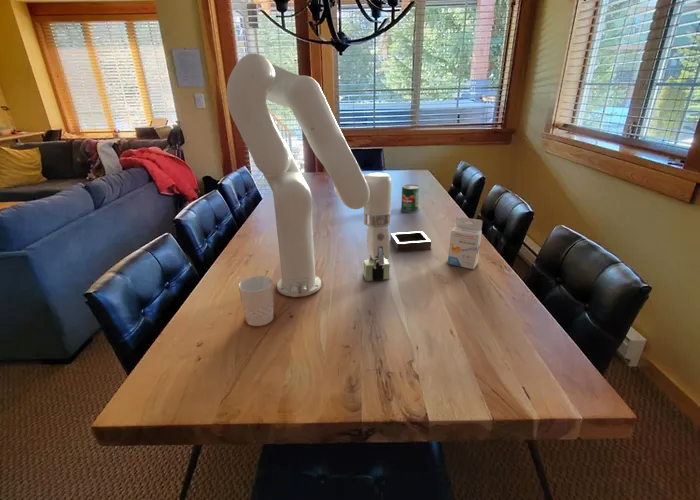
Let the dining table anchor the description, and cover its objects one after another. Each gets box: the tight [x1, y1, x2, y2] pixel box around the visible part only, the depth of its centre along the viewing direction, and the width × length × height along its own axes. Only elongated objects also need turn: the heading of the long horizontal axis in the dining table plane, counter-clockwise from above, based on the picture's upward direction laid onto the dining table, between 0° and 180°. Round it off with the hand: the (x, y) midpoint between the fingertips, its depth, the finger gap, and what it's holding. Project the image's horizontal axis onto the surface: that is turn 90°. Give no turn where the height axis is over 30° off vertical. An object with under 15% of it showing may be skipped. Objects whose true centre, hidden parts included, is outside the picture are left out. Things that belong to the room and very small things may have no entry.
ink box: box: [447, 216, 483, 270], centre depth 117 cm, size 8×5×15 cm, turn 60°
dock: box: [390, 230, 432, 253], centre depth 134 cm, size 10×12×3 cm
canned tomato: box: [400, 184, 420, 213], centre depth 171 cm, size 8×8×11 cm
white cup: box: [238, 275, 275, 327], centre depth 91 cm, size 8×8×10 cm
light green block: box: [363, 257, 391, 282], centre depth 111 cm, size 4×7×5 cm, turn 98°
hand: (376, 275), depth 112 cm, fingers closed on light green block, 4 cm apart
